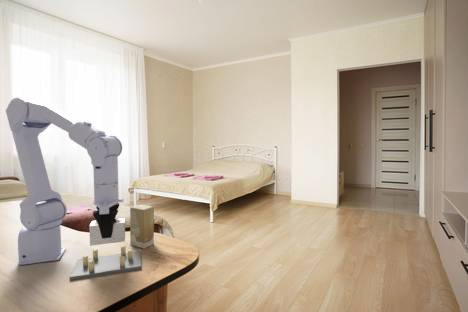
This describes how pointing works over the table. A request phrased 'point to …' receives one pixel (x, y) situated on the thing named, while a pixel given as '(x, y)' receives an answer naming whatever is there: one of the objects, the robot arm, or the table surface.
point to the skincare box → (142, 226)
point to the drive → (117, 233)
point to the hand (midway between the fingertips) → (107, 234)
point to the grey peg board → (106, 264)
